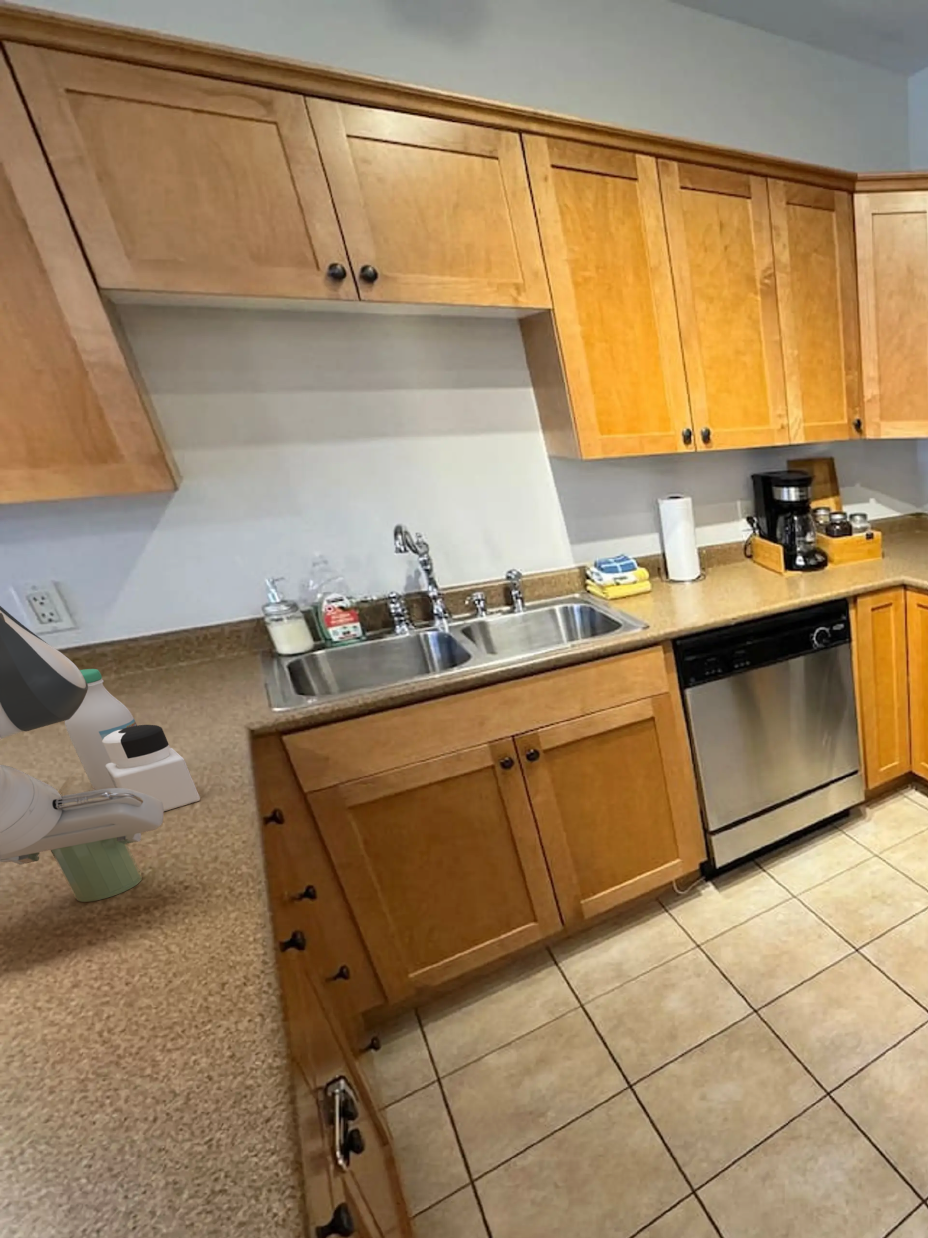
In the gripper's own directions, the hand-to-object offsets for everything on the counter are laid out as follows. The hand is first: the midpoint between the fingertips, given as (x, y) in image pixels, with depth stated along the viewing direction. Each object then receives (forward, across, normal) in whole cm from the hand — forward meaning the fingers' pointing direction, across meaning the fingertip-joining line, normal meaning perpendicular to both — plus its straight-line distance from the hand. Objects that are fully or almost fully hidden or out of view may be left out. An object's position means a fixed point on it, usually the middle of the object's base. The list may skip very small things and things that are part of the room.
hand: (83, 846), depth 92 cm
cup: (+6, 0, +4) cm, 7 cm away
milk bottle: (+35, +13, -25) cm, 45 cm away
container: (+26, +4, -16) cm, 30 cm away
